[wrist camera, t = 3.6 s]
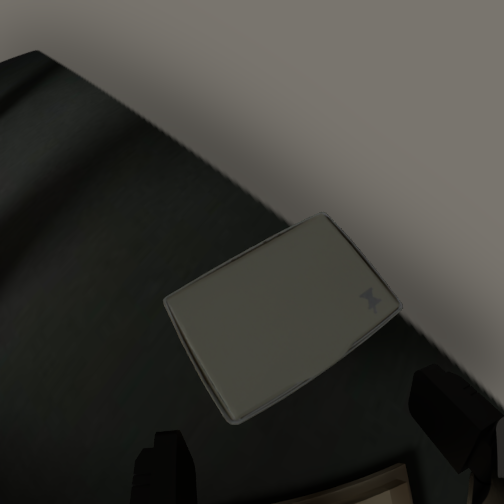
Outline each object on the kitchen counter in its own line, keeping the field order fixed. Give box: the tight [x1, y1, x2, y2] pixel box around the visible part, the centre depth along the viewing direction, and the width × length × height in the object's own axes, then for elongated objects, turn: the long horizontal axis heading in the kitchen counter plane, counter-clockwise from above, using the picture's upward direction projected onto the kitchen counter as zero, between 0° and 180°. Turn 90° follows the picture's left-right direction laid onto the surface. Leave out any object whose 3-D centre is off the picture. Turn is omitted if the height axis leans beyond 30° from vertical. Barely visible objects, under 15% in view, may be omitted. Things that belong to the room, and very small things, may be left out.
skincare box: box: [163, 212, 403, 425], centre depth 14 cm, size 6×4×12 cm
